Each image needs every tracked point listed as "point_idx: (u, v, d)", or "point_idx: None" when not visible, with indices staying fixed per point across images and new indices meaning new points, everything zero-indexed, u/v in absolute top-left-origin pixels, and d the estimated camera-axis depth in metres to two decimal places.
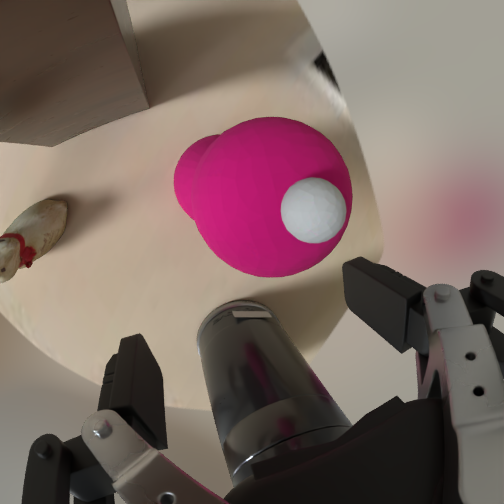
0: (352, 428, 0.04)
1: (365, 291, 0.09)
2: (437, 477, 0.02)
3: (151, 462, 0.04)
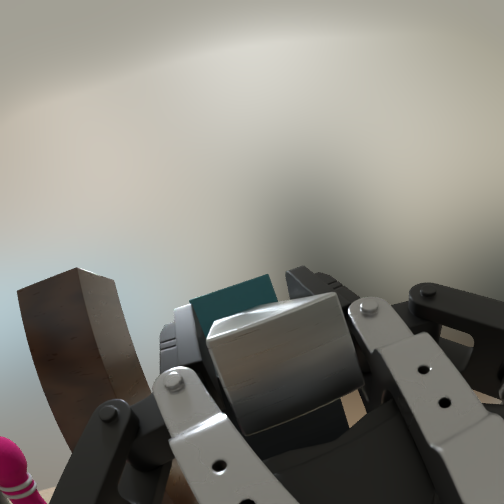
0: (352, 428, 0.04)
1: None
2: (429, 494, 0.02)
3: (216, 426, 0.04)
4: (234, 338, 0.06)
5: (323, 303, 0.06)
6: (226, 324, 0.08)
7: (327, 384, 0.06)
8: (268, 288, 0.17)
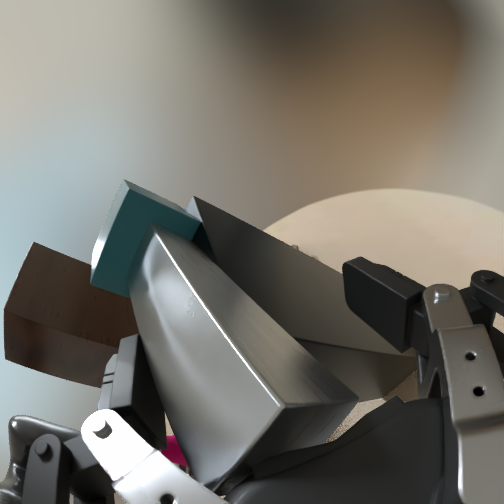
0: (352, 428, 0.04)
1: (365, 291, 0.09)
2: (437, 477, 0.02)
3: (150, 461, 0.04)
4: (222, 487, 0.04)
5: (277, 423, 0.04)
6: (170, 395, 0.06)
7: (325, 431, 0.05)
8: (142, 201, 0.12)
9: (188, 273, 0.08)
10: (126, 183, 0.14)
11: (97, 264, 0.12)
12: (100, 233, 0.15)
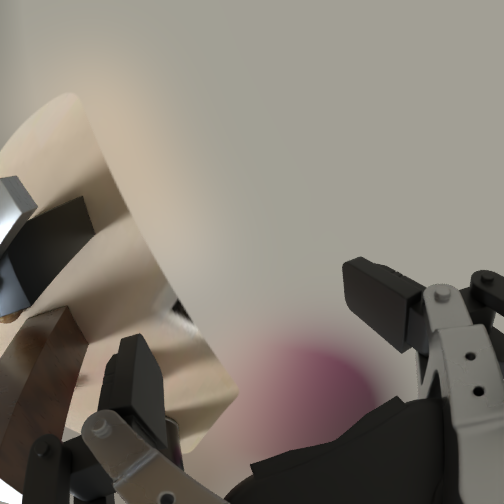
0: (352, 428, 0.04)
1: (365, 291, 0.09)
2: (437, 477, 0.02)
3: (151, 462, 0.04)
4: (19, 205, 0.12)
5: (3, 182, 0.12)
6: None
7: (19, 184, 0.13)
8: None
9: None
10: None
11: None
12: None
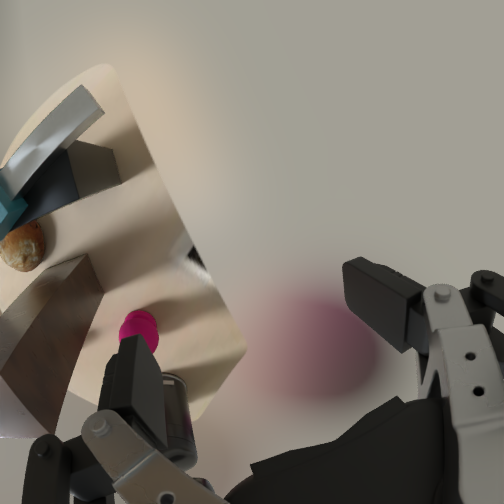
0: (352, 428, 0.04)
1: (365, 291, 0.09)
2: (437, 477, 0.02)
3: (151, 462, 0.04)
4: (95, 103, 0.17)
5: (83, 87, 0.17)
6: (69, 126, 0.17)
7: (92, 96, 0.18)
8: None
9: None
10: None
11: (1, 203, 0.16)
12: None
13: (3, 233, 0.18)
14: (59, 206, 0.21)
